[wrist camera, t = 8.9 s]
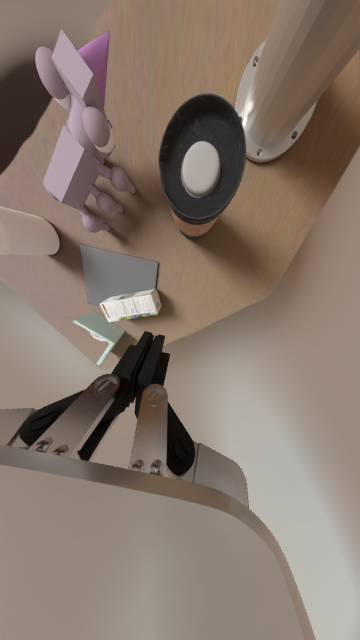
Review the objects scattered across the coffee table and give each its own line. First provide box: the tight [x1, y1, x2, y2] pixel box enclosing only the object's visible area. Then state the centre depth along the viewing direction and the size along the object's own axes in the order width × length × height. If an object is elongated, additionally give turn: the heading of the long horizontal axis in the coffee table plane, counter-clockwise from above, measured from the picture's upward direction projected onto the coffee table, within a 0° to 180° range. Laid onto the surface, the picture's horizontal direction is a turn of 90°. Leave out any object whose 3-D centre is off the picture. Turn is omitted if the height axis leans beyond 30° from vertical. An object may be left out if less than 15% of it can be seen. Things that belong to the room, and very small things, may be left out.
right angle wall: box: [74, 310, 125, 365], centre depth 42 cm, size 12×12×8 cm
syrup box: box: [100, 289, 162, 322], centre depth 35 cm, size 6×6×14 cm
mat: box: [80, 245, 158, 317], centre depth 36 cm, size 16×20×1 cm
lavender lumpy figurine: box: [36, 30, 135, 233], centre depth 21 cm, size 20×11×14 cm, turn 133°
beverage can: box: [0, 207, 60, 255], centre depth 27 cm, size 8×8×12 cm
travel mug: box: [159, 94, 246, 240], centre depth 20 cm, size 8×8×20 cm
